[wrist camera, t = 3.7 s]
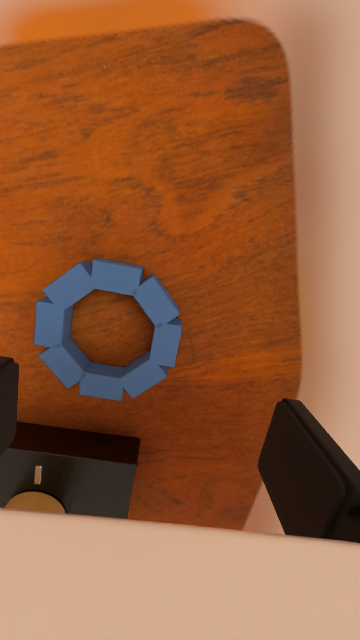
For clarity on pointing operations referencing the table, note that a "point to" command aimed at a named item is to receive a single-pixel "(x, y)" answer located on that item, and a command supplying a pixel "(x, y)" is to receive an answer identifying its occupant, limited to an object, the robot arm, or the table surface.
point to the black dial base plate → (71, 469)
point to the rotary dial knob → (35, 502)
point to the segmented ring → (71, 359)
